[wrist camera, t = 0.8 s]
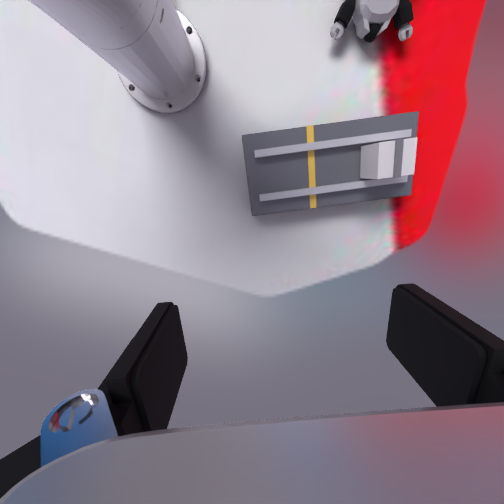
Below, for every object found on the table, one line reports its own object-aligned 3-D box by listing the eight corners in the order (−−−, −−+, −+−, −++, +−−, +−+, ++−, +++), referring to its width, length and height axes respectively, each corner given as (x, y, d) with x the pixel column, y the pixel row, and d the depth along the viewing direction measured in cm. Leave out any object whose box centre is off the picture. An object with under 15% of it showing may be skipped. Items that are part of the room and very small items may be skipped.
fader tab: (360, 145, 35) (381, 141, 30) (394, 141, 35) (420, 135, 30) (360, 178, 37) (379, 180, 31) (391, 174, 36) (416, 175, 31)
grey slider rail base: (242, 138, 37) (242, 134, 33) (405, 115, 37) (423, 109, 33) (251, 213, 41) (252, 217, 37) (399, 193, 41) (415, 195, 37)
